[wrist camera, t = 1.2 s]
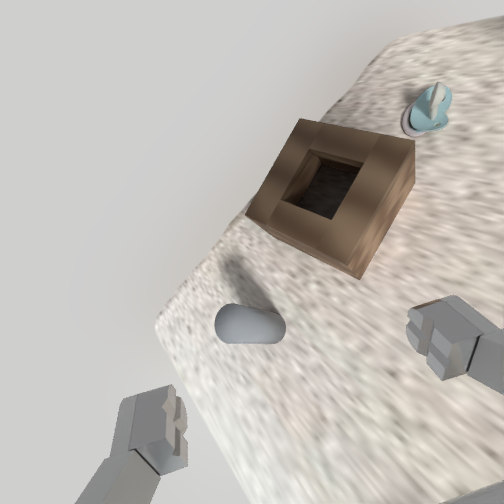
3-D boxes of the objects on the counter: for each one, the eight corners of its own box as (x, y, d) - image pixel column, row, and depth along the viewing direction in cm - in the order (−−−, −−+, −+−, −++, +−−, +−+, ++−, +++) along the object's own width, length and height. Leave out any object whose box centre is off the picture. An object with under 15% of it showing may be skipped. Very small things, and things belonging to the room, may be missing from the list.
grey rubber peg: (267, 306, 47) (227, 296, 37) (291, 323, 44) (254, 316, 34) (253, 332, 47) (208, 329, 37) (275, 350, 44) (234, 351, 34)
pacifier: (398, 142, 44) (445, 139, 41) (395, 115, 39) (448, 108, 36) (406, 101, 45) (453, 94, 42) (404, 69, 40) (456, 58, 37)
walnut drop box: (319, 156, 50) (299, 118, 41) (415, 182, 41) (415, 140, 33) (273, 236, 50) (244, 214, 41) (359, 280, 41) (345, 263, 33)
